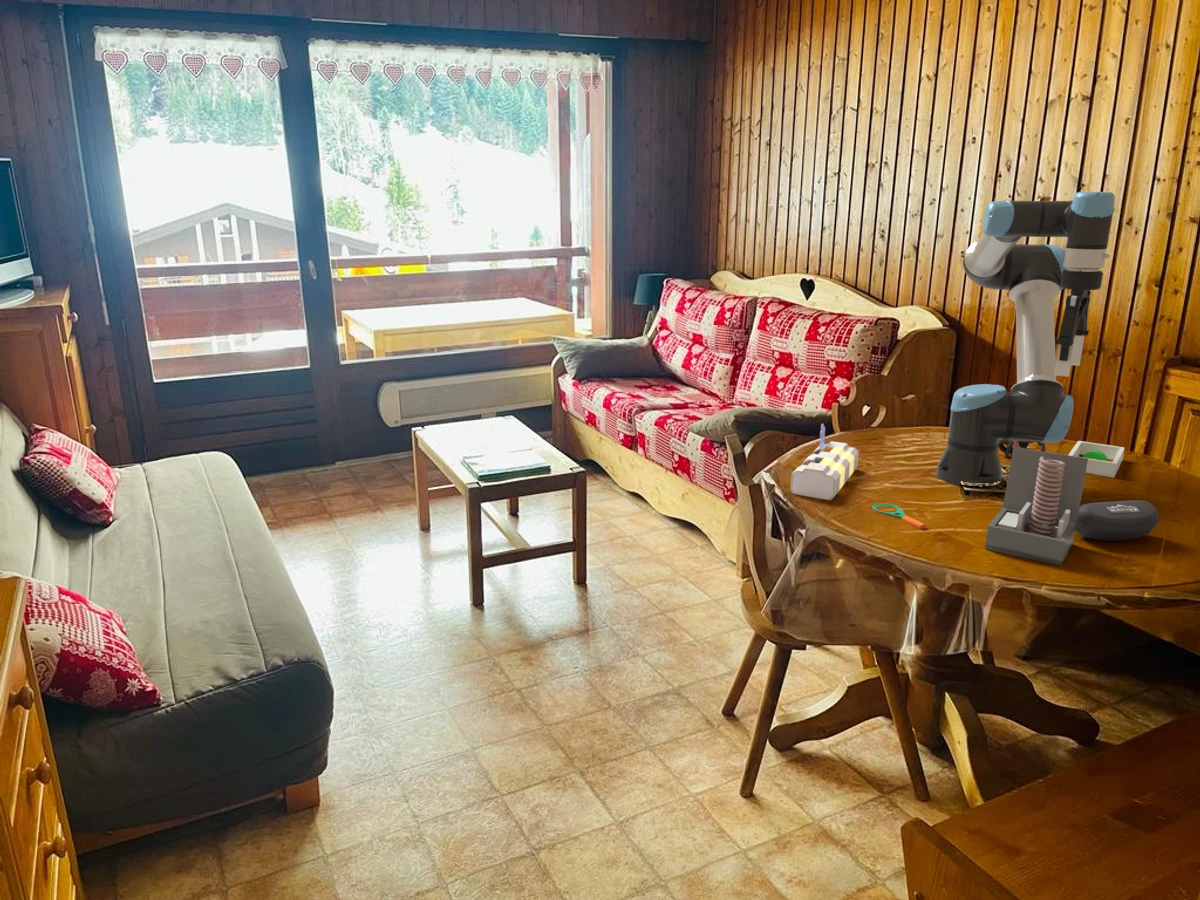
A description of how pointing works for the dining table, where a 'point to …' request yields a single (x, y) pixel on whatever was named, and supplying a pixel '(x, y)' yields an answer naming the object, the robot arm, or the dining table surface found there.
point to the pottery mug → (1012, 444)
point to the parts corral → (1098, 465)
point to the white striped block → (825, 470)
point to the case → (1013, 525)
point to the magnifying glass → (900, 515)
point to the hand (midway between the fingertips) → (1067, 370)
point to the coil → (1046, 497)
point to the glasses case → (1116, 520)
